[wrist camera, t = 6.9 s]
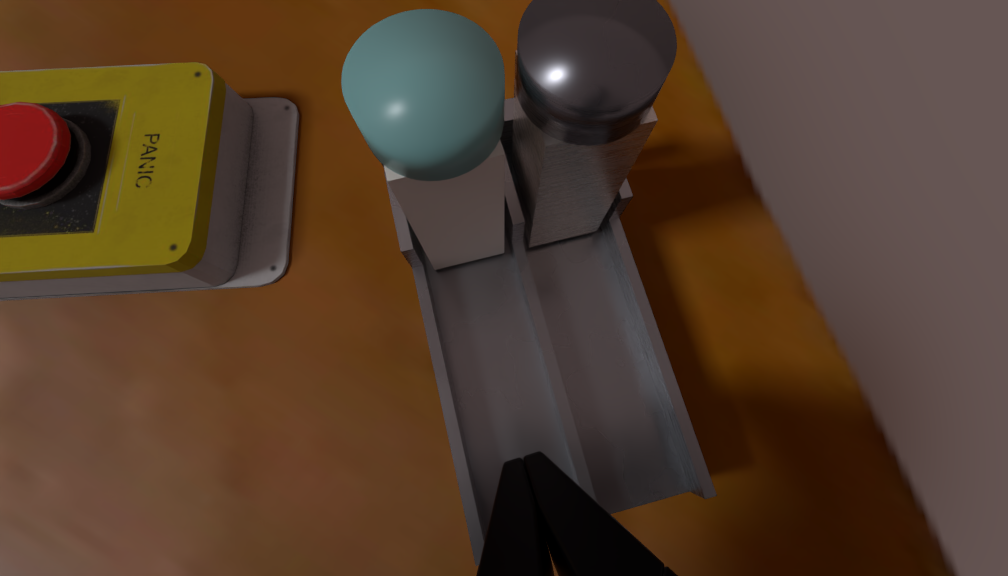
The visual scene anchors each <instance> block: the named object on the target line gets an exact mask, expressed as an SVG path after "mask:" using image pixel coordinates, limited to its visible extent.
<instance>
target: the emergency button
mask: <svg viewBox="0 0 1008 576" xmlns="http://www.w3.org/2000/svg"><path fill="white" fill-rule="evenodd" d="M298 126H299V113H298V109H297V107H296V105H295V104H293V103H292V102H291V101H289V100H288V99H285V98H278V97H267V98H246V99H242V98H241V97H240V96H239V95H238V94H237V93H236V92H235V91H234V90H233V89H232V88H230V87H229V86H228V85H227V84H226V83H225V81H224V80H223V79H222V78H221V77H220V76H219V75H218V74H217V73H215V72H214V71H213V70H212V69H211V68H209V67H208V66H207V65H206V64H202V63H197V62H191V63H170V64H149V65H127V66H106V67H85V68H63V69H42V70H21V71H0V301H5V300H23V299H42V298H61V297H79V296H98V295H117V294H135V293H154V292H173V291H191V290H210V289H229V288H247V287H261V286H265V285H269V284H273V283H275V282H276V281H277V280H278V279H279V278H281V277H282V276H283V275H284V273H285V271H286V268H287V266H288V260H289V247H290V233H291V220H292V207H293V193H294V180H295V166H296V153H297V139H298Z"/></svg>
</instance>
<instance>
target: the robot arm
mask: <svg viewBox="0 0 1008 576" xmlns="http://www.w3.org/2000/svg"><path fill="white" fill-rule="evenodd" d="M546 541H547V542H546ZM547 545H548V546H547ZM548 548H549V549H548ZM549 551H550V553H549ZM550 554H551V557H552V560H553V563H554V565H555V568H556V571H557V573H558V575H559V576H677V575H676V574H675V573H674V572H673V571H672V570H671V569H670V568H669V567H665V568H664V564H663V562H661V561H660V560H659V559H658V558H657V557H656V556H655V555H654V554H653V553H652V552H651V551H649V550H648V549H647V548H646V547H645V546H644V545H643V544H642V543H641V542H640V541H639V540H638V539H636V538H635V537H634V536H633V535H632V534H631V533H630V532H629V531H628V530H627V529H626V528H624V527H623V526H622V525H621V524H620V523H619V522H618V521H617V520H616V519H615V518H614V517H612V516H611V515H610V514H609V513H608V512H607V511H606V510H605V509H604V508H603V507H602V506H601V505H599V504H598V503H597V502H596V501H595V500H594V499H593V498H592V497H591V496H590V495H589V494H587V493H586V492H585V491H584V490H583V489H582V488H581V487H580V486H579V485H578V484H577V483H575V482H574V481H573V480H572V479H571V478H570V477H569V476H568V475H567V474H566V473H565V472H563V471H562V470H561V469H560V468H559V467H558V466H557V465H556V464H555V463H554V462H553V461H552V460H550V459H549V458H548V457H547V456H546V455H545V454H544V453H543V452H541V451H537V452H534V453H531V454H528V455H525V456H524V457H523V459H522V458H520V457H518V458H515V459H512V460H509V461H506V462H504V464H503V466H502V470H501V475H500V479H499V483H498V487H497V491H496V496H495V500H494V504H493V508H492V512H491V517H490V521H489V525H488V529H487V533H486V538H485V542H484V546H483V550H482V554H481V559H480V563H479V567H478V571H477V575H476V576H554V571H553V566H552V561H551V557H550Z"/></svg>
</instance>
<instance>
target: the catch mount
mask: <svg viewBox="0 0 1008 576" xmlns="http://www.w3.org/2000/svg"><path fill="white" fill-rule="evenodd" d="M676 49H677V43H676V34H675V30H674V27H673V24H672V22H671V20H670V18H669V16H668V14H667V13H666V11H665V10H664V9H663V7H662V6H661V5H660V4H659V3H658V2H657V1H656V0H533V1H532V2H531V3H530V4H529V6H528V7H527V9H526V10H525V12H524V14H523V16H522V19H521V21H520V25H519V30H518V47H517V51H516V52H515V81H514V98H511V99H506V100H504V127H503V131H502V135H501V137H500V140H501V144H502V147H503V150H504V154H505V194H504V253H502V254H498V255H494V256H490V257H486V258H482V259H478V260H474V261H469V262H465V263H461V264H457V265H453V266H449V267H445V268H441V269H437V270H434V268H433V266H432V264H431V262H430V260H429V259H428V257H427V255H426V253H425V251H424V249H423V247H422V245H421V244H420V242H419V240H418V238H417V236H416V234H415V232H414V231H413V229H412V227H411V225H410V223H409V221H408V219H407V217H406V216H405V214H404V212H403V210H402V208H401V206H400V204H399V203H398V201H397V199H396V197H395V195H394V193H393V191H392V189H391V188H390V186H389V184H388V182H387V178H386V173H385V172H384V173H385V178H386V182H387V187H388V192H389V197H390V202H391V206H392V211H393V216H394V221H395V226H396V230H397V235H398V240H399V245H400V250H401V252H402V254H403V255H404V257H405V258H406V260H407V261H408V263H409V264H410V265H411V267H412V269H413V274H414V278H415V283H416V288H417V292H418V297H419V302H420V306H421V311H422V316H423V320H424V325H425V330H426V335H427V339H428V344H429V349H430V353H431V358H432V363H433V367H434V372H435V377H436V381H437V386H438V391H439V396H440V400H441V405H442V410H443V414H444V419H445V424H446V428H447V433H448V438H449V442H450V447H451V452H452V456H453V461H454V466H455V471H456V475H457V480H458V485H459V489H460V494H461V499H462V503H463V508H464V513H465V517H466V522H467V527H468V532H469V536H470V541H471V546H472V550H473V555H474V560H475V564H476V566H477V565H479V563H480V559H481V554H482V550H483V546H484V542H485V538H486V533H487V529H488V525H489V521H490V517H491V512H492V508H493V504H494V500H495V496H496V491H497V487H498V483H499V479H500V475H501V470H502V466H503V464H504V462H506V461H509V460H512V459H515V458H518V457H520V458H522V459H523V457H524V456H525V455H528V454H531V453H534V452H537V451H541V452H543V453H544V454H545V455H546V456H547V457H548V458H549V459H550V460H552V461H553V462H554V463H555V464H556V465H557V466H558V467H559V468H560V469H561V470H562V471H563V472H565V473H566V474H567V475H568V476H569V477H570V478H571V479H572V480H573V481H574V482H575V483H577V484H578V485H579V486H580V487H581V488H582V489H583V490H584V491H585V492H586V493H587V494H589V495H590V496H591V497H592V498H593V499H594V500H595V501H596V502H597V503H598V504H599V505H601V506H602V507H603V508H604V509H605V510H606V511H607V512H608V513H609V514H612V513H616V512H619V511H623V510H626V509H630V508H633V507H637V506H640V505H644V504H647V503H651V502H654V501H657V500H661V499H664V498H668V497H671V496H675V495H678V494H682V493H685V492H689V491H690V492H692V493H694V494H696V495H698V496H700V497H702V498H704V499H707V498H711V497H714V496H717V495H716V492H715V489H714V486H713V483H712V481H711V478H710V475H709V472H708V469H707V466H706V464H705V461H704V458H703V455H702V452H701V449H700V446H699V444H698V441H697V438H696V435H695V432H694V429H693V427H692V424H691V421H690V418H689V415H688V412H687V409H686V407H685V404H684V401H683V398H682V395H681V392H680V390H679V387H678V384H677V381H676V378H675V375H674V372H673V370H672V367H671V364H670V361H669V358H668V355H667V353H666V350H665V347H664V344H663V341H662V338H661V335H660V333H659V330H658V327H657V324H656V321H655V318H654V316H653V313H652V310H651V307H650V304H649V301H648V298H647V296H646V293H645V290H644V287H643V284H642V281H641V279H640V276H639V273H638V270H637V267H636V264H635V261H634V259H633V256H632V253H631V250H630V247H629V244H628V242H627V239H626V236H625V233H624V230H623V227H622V224H621V222H620V219H619V217H620V216H621V214H622V212H623V211H624V209H625V208H626V206H627V205H628V203H629V202H630V200H631V198H632V197H633V194H632V192H631V189H630V186H629V183H628V181H627V178H626V177H627V175H628V173H629V172H630V170H631V168H632V166H633V164H634V163H635V161H636V159H637V157H638V155H639V154H640V152H641V150H642V148H643V146H644V145H645V143H646V141H647V139H648V137H649V136H650V134H651V132H652V130H653V128H654V127H655V125H656V123H657V121H658V119H657V117H656V114H655V112H654V109H653V107H652V105H653V103H654V101H655V99H656V97H657V95H658V93H659V91H660V89H661V87H662V85H663V83H664V82H665V80H666V78H667V76H668V74H669V72H670V70H671V68H672V65H673V63H674V60H675V56H676ZM382 165H383V164H382ZM383 167H384V165H383Z"/></svg>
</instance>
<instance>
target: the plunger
mask: <svg viewBox="0 0 1008 576" xmlns="http://www.w3.org/2000/svg"><path fill="white" fill-rule="evenodd" d="M342 92H343V95H344V99H345V102H346V104H347V106H348V108H349V110H350V112H351V114H352V116H353V118H354V120H355V122H356V123H357V125H358V127H359V129H360V131H361V133H362V135H363V137H364V138H365V140H366V142H367V144H368V146H369V148H370V149H371V151H372V152H373V154H374V155H375V157H376V158H377V159H378V160H379V161H380V162H381V163H382V164H383V165H384V169H385V173H386V178H387V182H388V184H389V186H390V188H391V189H392V191H393V193H394V195H395V197H396V199H397V201H398V203H399V204H400V206H401V208H402V210H403V212H404V214H405V216H406V217H407V219H408V221H409V223H410V225H411V227H412V229H413V231H414V232H415V234H416V236H417V238H418V240H419V242H420V244H421V245H422V247H423V249H424V251H425V253H426V255H427V257H428V259H429V260H430V262H431V264H432V266H433V268H434V270H437V269H441V268H445V267H449V266H453V265H457V264H461V263H465V262H469V261H474V260H478V259H482V258H486V257H490V256H494V255H498V254H502V253H504V194H505V154H504V150H503V147H502V144H501V140H500V137H501V135H502V131H503V127H504V99H505V74H504V64H503V60H502V56H501V54H500V51H499V49H498V47H497V45H496V44H495V42H494V41H493V39H492V38H491V37H490V36H489V34H488V33H487V32H486V31H484V30H483V29H482V28H481V27H480V26H478V25H477V24H476V23H474V22H473V21H471V20H469V19H467V18H465V17H463V16H460V15H458V14H455V13H451V12H448V11H442V10H433V9H420V10H411V11H406V12H402V13H398V14H395V15H393V16H390V17H388V18H386V19H384V20H382V21H380V22H378V23H376V24H375V25H373V26H372V27H370V28H369V29H368V30H367V31H366V32H364V33H363V34H362V35H361V36H360V38H359V39H358V40H357V41H356V42H355V44H354V45H353V46H352V48H351V50H350V51H349V53H348V55H347V57H346V60H345V63H344V66H343V71H342Z"/></svg>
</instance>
